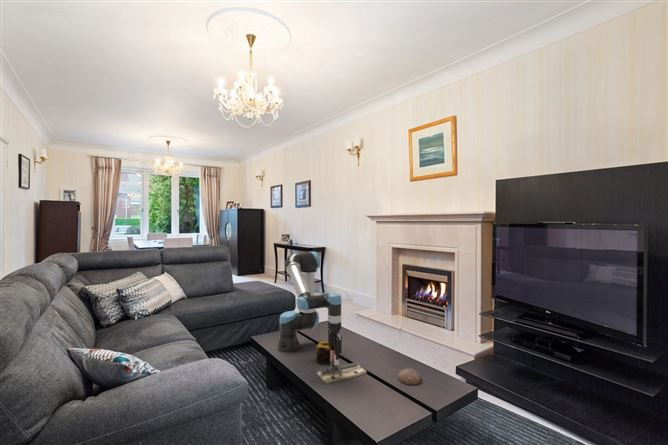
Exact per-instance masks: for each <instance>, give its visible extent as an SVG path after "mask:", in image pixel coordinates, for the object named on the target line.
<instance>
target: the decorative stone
mask: <svg viewBox="0 0 668 445" xmlns="http://www.w3.org/2000/svg"><path fill="white" fill-rule="evenodd" d="M421 378H422V377H421V374H420V373H419V372H417V371H416V370H415V369H413V368H404V369H402V370H400V372H399V373H398V375H397V379H398V381H399V382H400V381H401V382H400V383H402V384H404V383H405V384H404V385H406V384H410V385H409V386H414V385H413V384H417V385H419V384H420V383H421V380H422V379H421ZM419 382H420V383H419ZM418 383H419V384H418Z"/></svg>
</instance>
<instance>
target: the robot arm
mask: <svg viewBox="0 0 668 445" xmlns="http://www.w3.org/2000/svg"><path fill="white" fill-rule="evenodd" d="M285 259H286V260H285V263H284V269H285V271H286V273H287V274H288V276H290V279H291V282H292V285H293V287H294V290H295V292H296V295H297V298H296V307H297V309H298V310H299V312H297V311H296V310H289V311H284V312H282V313H281V314H280V315H279V336H278V341H277V343H276V344H277V345H276V346H277V348H276V349H277V350H278V351H281V352H293V351H296V350H298V349H300V346H301V345H300V340H299V336H298V331H304V330H313V329H316V328H317V327H318V325H319V322H320V316H319V314H320V313H319V312H318V311H317V309H323V308H327V321H328V323H327V329H328V330H327V342H328V346H329V347H330V350H332V349H335V353H334V365H340V354H342V340H343V336H342V335H340V334H341V333H340V330H341V329H342V302H343V301H342V295H341V294H339V293H328V292H322V293H321V294H318V295H316V294H315V282H316V281H315V276H316V275H315V274H316V273H317V272H318V269H320V268H321V267H320V266H321V258H320V255H319V253H317V251H310V250H309V251H296V252H292V253H291V254H289V255H288V256H287V258H285Z"/></svg>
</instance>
